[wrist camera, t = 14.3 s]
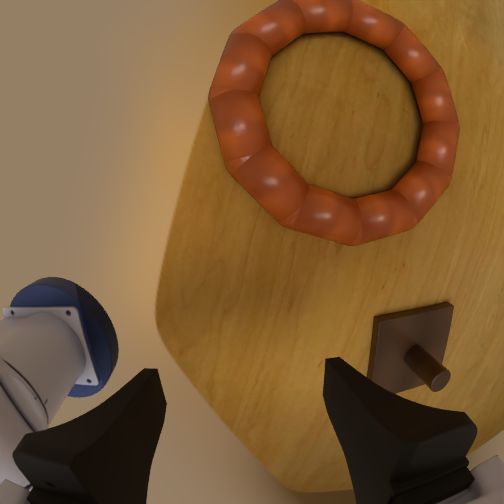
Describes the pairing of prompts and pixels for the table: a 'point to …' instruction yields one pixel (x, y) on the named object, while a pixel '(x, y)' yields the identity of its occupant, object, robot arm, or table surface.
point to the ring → (274, 164)
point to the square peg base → (411, 348)
